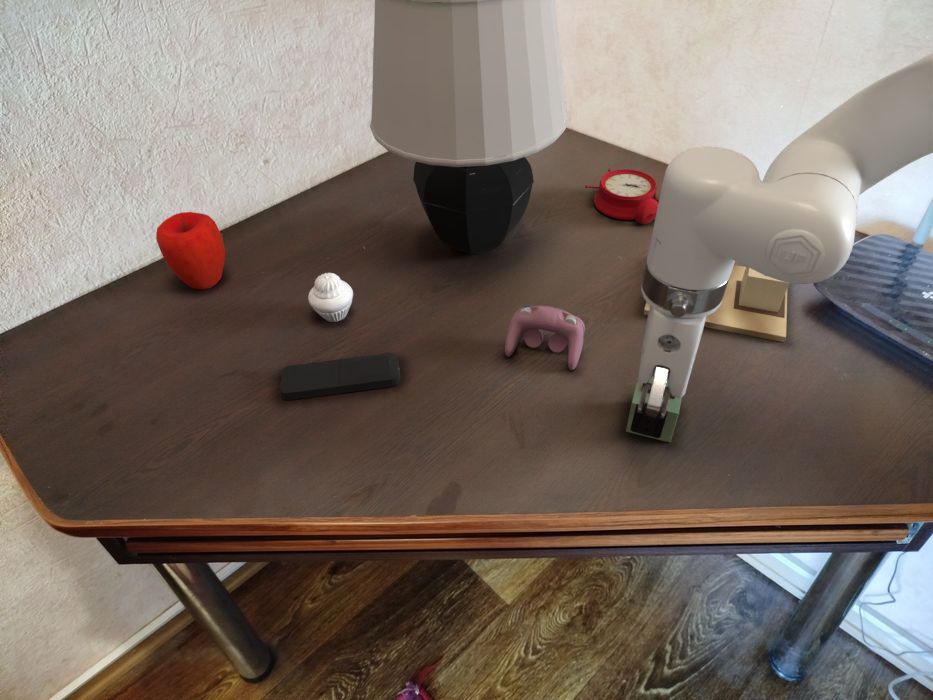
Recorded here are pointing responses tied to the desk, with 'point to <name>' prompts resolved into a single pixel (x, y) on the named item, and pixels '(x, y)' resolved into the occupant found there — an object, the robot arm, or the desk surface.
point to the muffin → (331, 297)
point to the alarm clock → (627, 195)
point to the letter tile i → (672, 405)
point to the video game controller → (549, 319)
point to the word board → (745, 314)
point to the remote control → (340, 376)
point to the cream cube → (761, 291)
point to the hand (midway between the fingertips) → (652, 400)
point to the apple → (192, 248)
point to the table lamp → (468, 106)
